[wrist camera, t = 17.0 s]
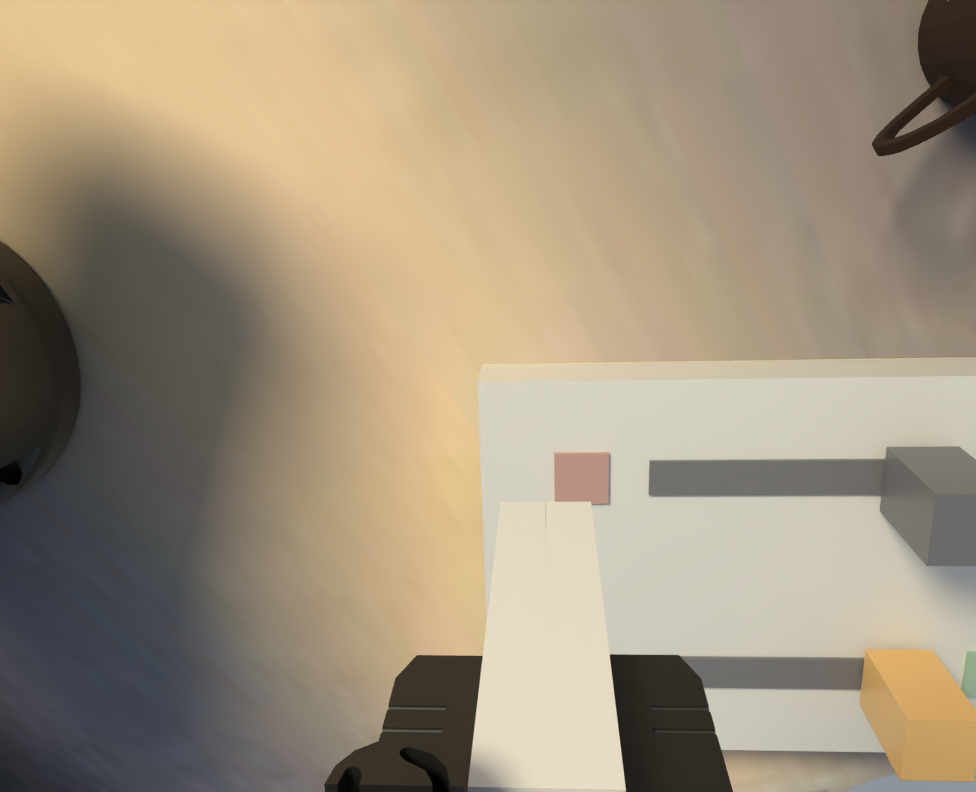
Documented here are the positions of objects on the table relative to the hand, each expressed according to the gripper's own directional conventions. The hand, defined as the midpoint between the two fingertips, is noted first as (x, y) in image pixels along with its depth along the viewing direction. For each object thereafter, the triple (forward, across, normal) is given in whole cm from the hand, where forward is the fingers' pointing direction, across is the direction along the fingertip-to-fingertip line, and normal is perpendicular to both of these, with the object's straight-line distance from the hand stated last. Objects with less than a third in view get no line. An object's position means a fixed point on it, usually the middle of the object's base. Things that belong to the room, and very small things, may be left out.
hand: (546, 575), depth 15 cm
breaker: (+23, +16, -8) cm, 29 cm away
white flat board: (+26, +11, -13) cm, 31 cm away
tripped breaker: (+23, +16, -18) cm, 33 cm away
